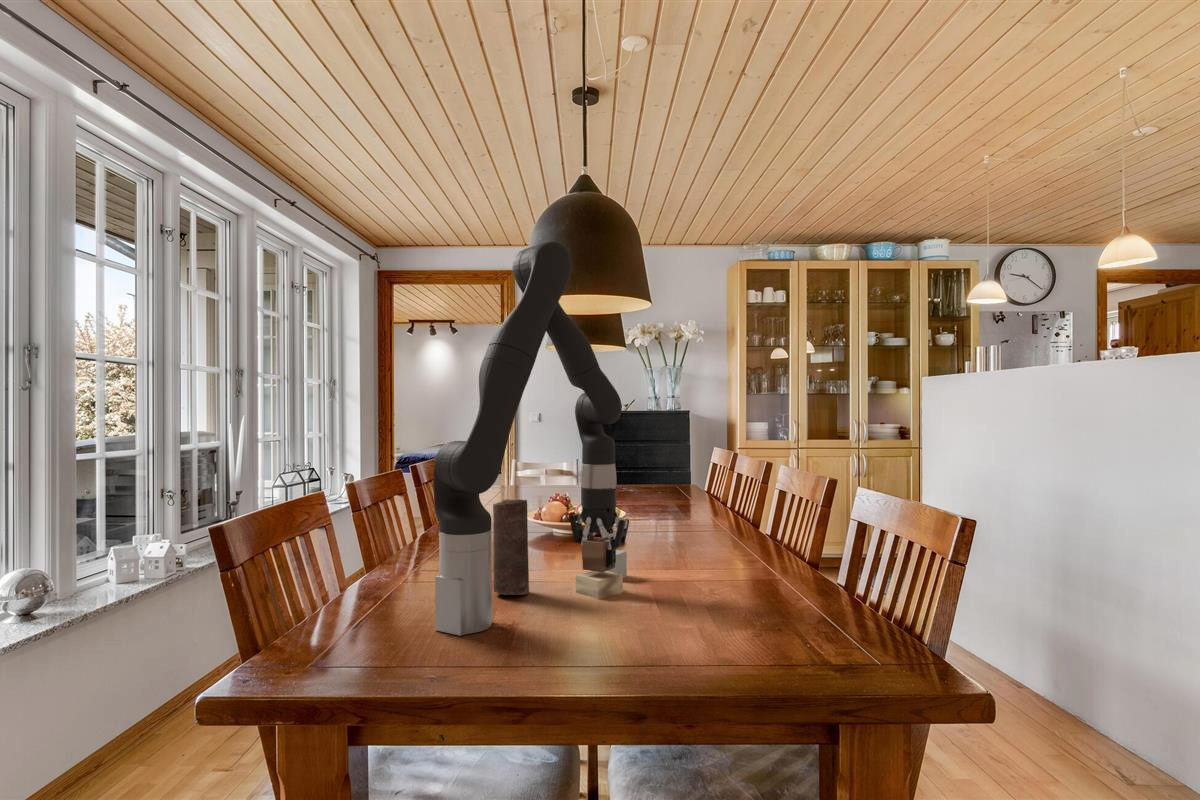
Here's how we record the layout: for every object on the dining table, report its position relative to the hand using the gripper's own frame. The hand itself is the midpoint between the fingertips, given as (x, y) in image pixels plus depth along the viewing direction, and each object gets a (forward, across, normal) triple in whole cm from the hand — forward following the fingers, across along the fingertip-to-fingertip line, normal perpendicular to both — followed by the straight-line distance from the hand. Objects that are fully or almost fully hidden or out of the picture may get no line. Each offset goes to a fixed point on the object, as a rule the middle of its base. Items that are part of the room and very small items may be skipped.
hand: (599, 564), depth 141 cm
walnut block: (+1, 0, 0) cm, 1 cm away
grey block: (+6, -4, +12) cm, 14 cm away
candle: (+6, -15, -11) cm, 20 cm away
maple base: (+6, 0, 0) cm, 6 cm away
